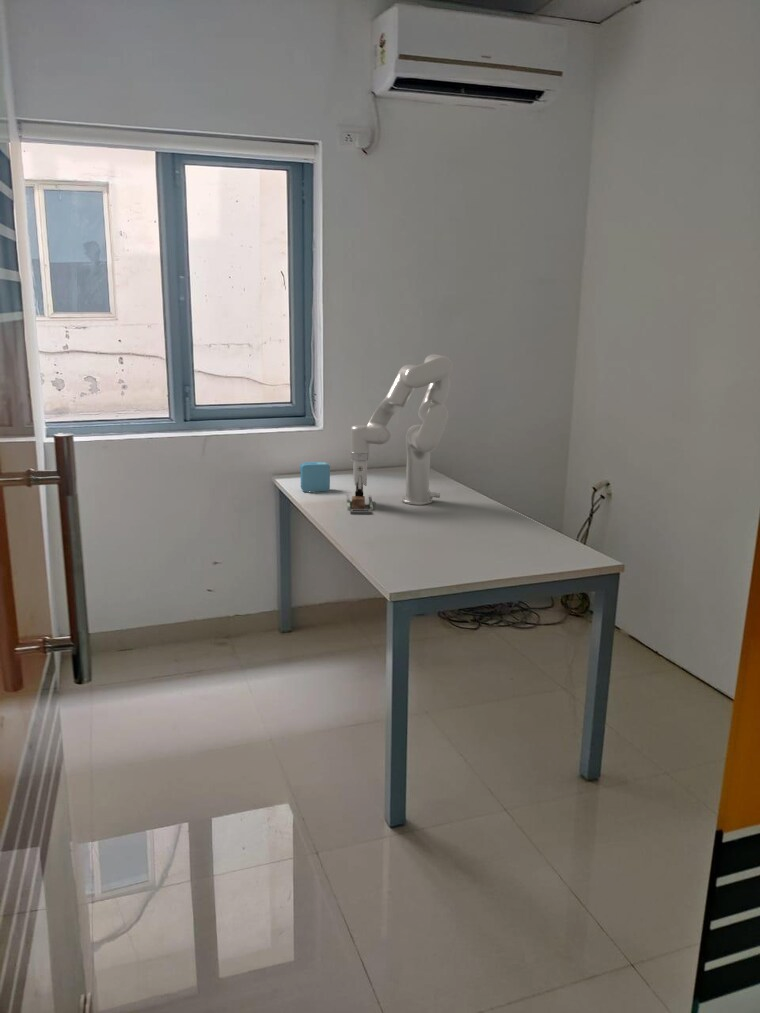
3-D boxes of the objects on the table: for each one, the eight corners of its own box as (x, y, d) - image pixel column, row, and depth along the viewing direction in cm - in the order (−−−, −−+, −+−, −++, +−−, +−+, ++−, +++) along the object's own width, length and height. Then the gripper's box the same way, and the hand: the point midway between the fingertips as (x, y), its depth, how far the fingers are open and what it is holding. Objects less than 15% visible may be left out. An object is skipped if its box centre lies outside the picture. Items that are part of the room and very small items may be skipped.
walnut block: (364, 506, 313) (364, 496, 312) (364, 509, 308) (364, 499, 307) (351, 505, 313) (352, 496, 312) (351, 509, 308) (352, 499, 307)
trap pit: (370, 511, 305) (370, 509, 304) (371, 514, 301) (371, 511, 300) (350, 511, 304) (350, 509, 304) (350, 514, 300) (350, 511, 300)
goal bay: (372, 506, 312) (372, 502, 312) (372, 510, 307) (373, 506, 306) (347, 506, 312) (347, 502, 311) (347, 510, 306) (347, 506, 306)
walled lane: (370, 501, 320) (371, 495, 319) (371, 505, 313) (372, 499, 313) (346, 501, 319) (346, 495, 319) (347, 505, 313) (347, 499, 312)
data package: (328, 488, 339) (328, 461, 336) (329, 491, 335) (330, 464, 332) (300, 490, 337) (300, 462, 333) (302, 492, 332) (302, 464, 329)
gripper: (370, 460, 303) (369, 506, 308) (368, 453, 317) (367, 496, 322) (350, 460, 302) (350, 505, 307) (349, 452, 317) (349, 496, 322)
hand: (359, 501), depth 315 cm, fingers closed
